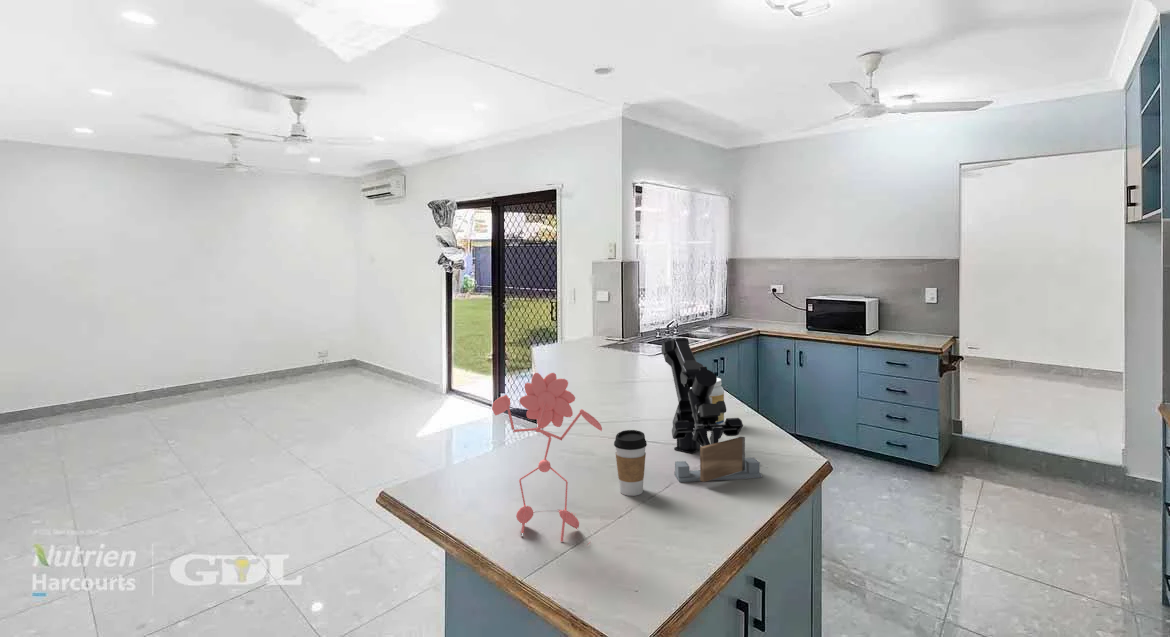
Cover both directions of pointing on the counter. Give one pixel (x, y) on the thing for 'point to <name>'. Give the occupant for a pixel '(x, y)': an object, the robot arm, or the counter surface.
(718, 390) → the supplement tub
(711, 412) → the robot arm
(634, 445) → the coffee cup
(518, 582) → the counter surface
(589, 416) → the figurine
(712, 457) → the gate leaf
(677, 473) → the gate frame
